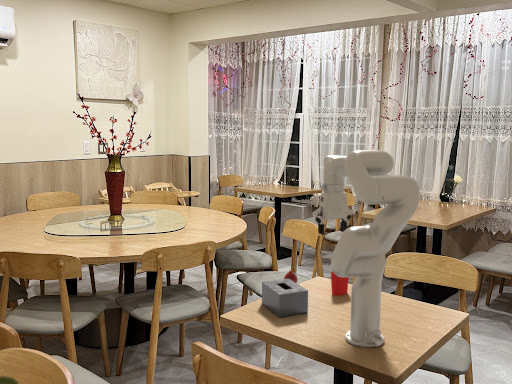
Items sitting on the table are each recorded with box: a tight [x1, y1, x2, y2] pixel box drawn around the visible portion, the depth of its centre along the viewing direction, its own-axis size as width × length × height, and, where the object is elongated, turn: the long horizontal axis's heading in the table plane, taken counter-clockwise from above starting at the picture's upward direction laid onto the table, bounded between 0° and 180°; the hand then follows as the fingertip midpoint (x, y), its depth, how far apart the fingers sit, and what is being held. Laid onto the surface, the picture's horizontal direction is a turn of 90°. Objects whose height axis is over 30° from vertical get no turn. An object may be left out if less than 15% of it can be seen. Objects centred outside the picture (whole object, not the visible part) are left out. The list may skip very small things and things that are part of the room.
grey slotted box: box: [261, 278, 309, 319], centre depth 192 cm, size 16×12×9 cm
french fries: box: [330, 270, 350, 297], centre depth 210 cm, size 9×4×13 cm, turn 122°
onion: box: [283, 269, 298, 284], centre depth 218 cm, size 6×6×8 cm
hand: (332, 233), depth 188 cm, fingers open, 9 cm apart
